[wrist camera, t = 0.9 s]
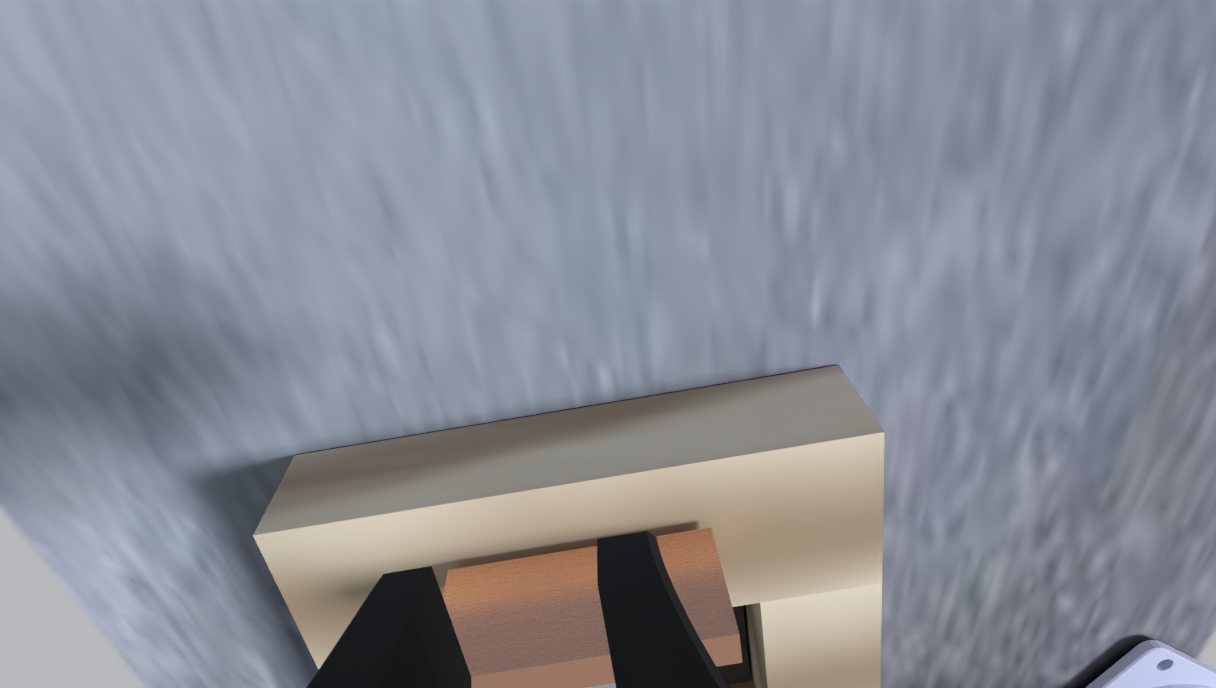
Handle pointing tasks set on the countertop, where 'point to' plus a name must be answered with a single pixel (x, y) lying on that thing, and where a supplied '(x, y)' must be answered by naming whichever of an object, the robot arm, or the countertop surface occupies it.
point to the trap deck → (619, 512)
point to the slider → (574, 614)
